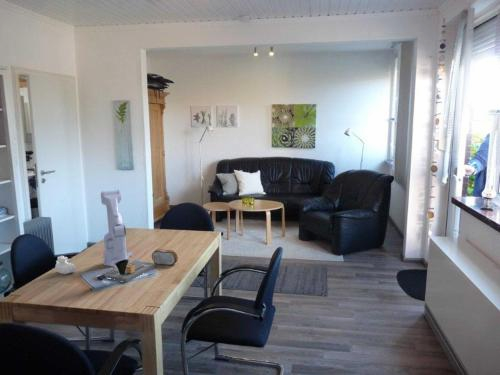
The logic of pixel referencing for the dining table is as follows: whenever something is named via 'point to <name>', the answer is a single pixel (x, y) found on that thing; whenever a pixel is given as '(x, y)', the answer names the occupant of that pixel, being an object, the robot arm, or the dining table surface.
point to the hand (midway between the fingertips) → (122, 274)
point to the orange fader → (130, 268)
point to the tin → (164, 257)
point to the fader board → (139, 270)
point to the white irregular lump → (64, 266)
